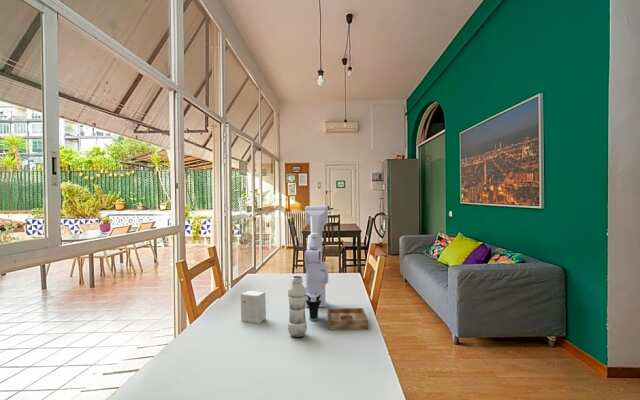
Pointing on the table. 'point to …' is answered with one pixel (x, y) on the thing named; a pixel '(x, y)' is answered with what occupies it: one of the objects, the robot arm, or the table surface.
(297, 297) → the plastic bottle
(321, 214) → the robot arm
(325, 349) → the table surface
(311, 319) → the peg
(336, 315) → the crate
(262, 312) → the small box
